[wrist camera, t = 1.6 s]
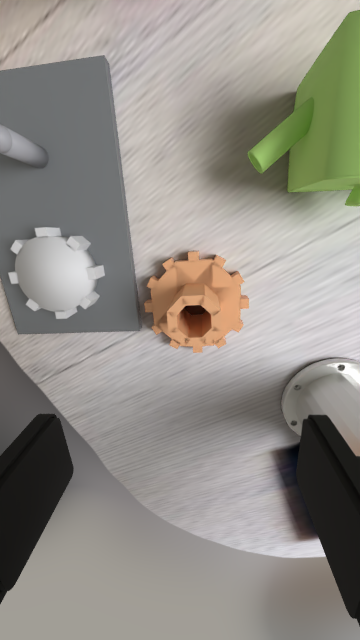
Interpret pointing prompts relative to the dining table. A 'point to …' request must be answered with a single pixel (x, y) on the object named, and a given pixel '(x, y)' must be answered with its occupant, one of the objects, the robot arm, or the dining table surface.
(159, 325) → the gear
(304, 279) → the dining table surface
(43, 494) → the robot arm
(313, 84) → the gearbox
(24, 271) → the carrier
